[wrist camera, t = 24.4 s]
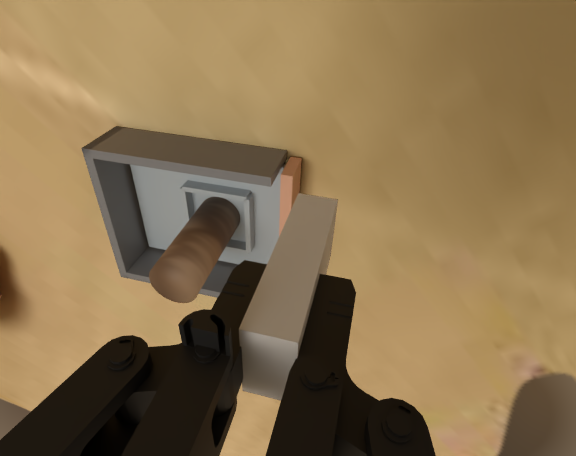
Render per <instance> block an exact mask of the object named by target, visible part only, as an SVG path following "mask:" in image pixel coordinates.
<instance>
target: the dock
mask: <svg viewBox="0 0 576 456" xmlns="http://www.w3.org/2000/svg"><path fill="white" fill-rule="evenodd" d="M82 151H83V155H84V158H85V161H86V164H87V168H88V171H89V174H90V177H91V181H92V184H93V187H94V191H95V194H96V197H97V200H98V204H99V207H100V210H101V213H102V217H103V220H104V223H105V226H106V230H107V233H108V236H109V239H110V243H111V246H112V249H113V252H114V256H115V259H116V262H117V265H118V269H119V272H120V275H121V277H124V278H129V279H134V280H138V281H143V282H148V283H150V280H149V272H150V270H151V269H152V268H153V266H154V265H155V264H156V262H157V261H158V260H159V258H160V257H161V256H162V255H163V253H164V252H165V251H166V250H164V249H159V248H154V247H149V244H148V240H147V236H146V231H145V227H144V223H143V218H142V214H141V210H140V206H139V201H138V197H137V193H136V188H135V184H134V180H133V175H132V171H131V167H130V165H136V166H143V167H149V168H155V169H162V170H168V171H174V172H180V173H187V174H193V175H199V176H206V177H212V178H218V179H224V180H231V181H237V182H243V183H249V184H256V185H262V186H268V187H271V186H272V184H273V182H274V181H275V179H276V177H277V175H278V173H279V172H280V170H281V168H282V166H283V164H284V163H285V161H286V159H287V150H281V149H274V148H266V147H259V146H252V145H245V144H238V143H231V142H224V141H217V140H210V139H203V138H196V137H189V136H181V135H174V134H167V133H160V132H153V131H146V130H139V129H132V128H125V127H118V126H116V127H114V128H113V129H111V130H109V131H108V132H106V133H105V134H103V135H102V136H100V137H98V138H97V139H95V140H94V141H92V142H91V143H89V144H87V145H86V146H84V147H83V148H82ZM238 265H239V264H234V263H229V262H224V261H219V260H218V261H217V263H216V264H215V266H214V268H213V269H212V271H211V273H210V275H209V276H208V278H207V280H206V281H205V283H204V285H203V286H202V288H201V290H200V291H199V294H203V295H208V296H212V297H217V298H218V296H219V295H220V293H221V292H222V289H223V287H224V285H225V283H227V280H228V278H229V276H230V274H231V272H232V270H233V269H234V268H235V267H236V266H238Z"/></svg>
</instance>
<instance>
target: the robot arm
mask: <svg viewBox="0 0 576 456" xmlns="http://www.w3.org/2000/svg"><path fill="white" fill-rule="evenodd" d="M337 203H338V199H332V198H326V197H319V196H313V195H307V194H301V193H298V195H297V197H296V200H295V202H294V204H293V207H292V209H291V211H290V213H289V216H288V218H287V220H286V222H285V225H284V227H283V229H282V232H281V234H280V236H279V238H278V241H277V243H276V245H275V248H274V250H273V252H272V254H271V257H270V259H269V261H268V264H263V263H258V262H253V261H248V260H244V261H243V262H241V263H240V264H239V265H238V266H236V267H235V268H234V269H233V270H232V272H231V274H230V276H229V278H228V280H227V283H225V285H224V287H223V289H222V292H221V293H220V295H219V296H218V298H217V300H216V302H215V304H214V306H213V308H212V309H211V310H205V309H204V310H200V311H195V312H193V313H191V314H189V315H187V316H186V317H184V319H183V320H182V321H181V322H180V323H179V324H178V325H179V330H180V334H181V339H182V343H181V344H177V345H171V346H157V347H148V345H147V343H146V342H145V341H144V340H143V339H142V338H140V337H136V336H133V335H131V336H121V337H118V338H116V339H113V340H111V341H110V342H108V343H107V344H105V345H104V346H102V347H101V348H100V349H99V350H98V351H97V352H96V353H95V354H94V355H93V356H92V357H90V358H89V359H88V360H87V361H86V362H85V363H84V364H83V365H82V366H81V367H80V368H78V369H77V370H76V371H75V372H74V373H73V374H72V375H71V376H70V377H69V378H67V379H66V380H65V381H64V382H63V383H62V384H61V385H60V386H59V387H58V388H57V389H55V390H54V391H53V392H52V393H51V394H50V395H49V396H48V397H47V398H46V399H45V400H43V401H42V402H41V403H40V404H39V405H38V406H37V407H36V408H35V409H34V410H33V411H31V412H30V413H29V414H28V415H27V416H26V417H25V418H24V419H23V420H22V421H21V422H19V423H18V424H17V425H16V426H15V427H14V428H13V429H12V430H11V431H10V432H9V433H8V434H6V435H5V436H4V437H3V438H2V439H1V440H0V456H219V455H220V452H221V450H222V447H223V444H224V441H225V439H226V436H227V433H228V430H229V428H230V425H231V422H232V419H233V417H234V414H235V411H236V406H237V394H238V391H239V389H240V386H241V383H242V387H243V391H246V392H250V393H254V394H258V395H262V396H265V397H269V398H273V399H277V400H281V403H280V407H279V410H278V414H277V417H276V421H275V425H274V428H273V432H272V435H271V439H270V442H269V446H268V449H267V453H266V456H436V455H435V452H434V448H433V445H432V441H431V437H430V434H429V430H428V427H427V425H426V422H425V420H424V418H423V416H422V415H421V414H420V413H419V412H418V411H417V410H416V408H415V407H414V406H412V405H410V404H408V403H407V402H405V401H403V400H399V399H394V398H389V399H383V400H380V401H379V400H377V399H375V398H374V397H372V396H370V395H369V394H367V393H365V392H364V391H362V390H361V389H360V388H358V387H357V386H356V385H355V384H354V382H353V381H352V380H351V378H350V376H349V375H348V372H347V369H346V355H347V349H348V342H349V335H350V329H351V322H352V316H353V309H354V302H355V296H356V292H355V289H354V286H353V284H352V281H351V280H350V279H345V278H339V277H334V276H329V275H326V272H327V268H328V264H329V260H330V256H331V249H332V241H333V233H334V226H335V218H336V210H337Z"/></svg>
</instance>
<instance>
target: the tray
mask: <svg viewBox="0 0 576 456" xmlns="http://www.w3.org/2000/svg"><path fill="white" fill-rule="evenodd" d="M301 161H302V158H297V157H290V158H289V160H288V162H287V164H286V165H285V164H283V166H282V168H281V170H280V172H279V173H278V175H277V177H276V179H275V181H274V182H273V184H272V186H271V187H268V186H262V185H256V184H249V183H243V182H237V181H231V180H224V179H218V178H212V177H206V176H199V175H193V174H187V173H180V172H174V171H168V170H162V169H155V168H149V167H143V166H136V165H130V167H131V171H132V175H133V180H134V184H135V188H136V193H137V197H138V201H139V206H140V210H141V214H142V218H143V223H144V227H145V231H146V236H147V240H148V244H149V247H154V248H159V249H164V250H166V249H167V248H168V247H169V246H170V244H171V243H172V242H173V240H174V239H175V238H176V236H177V235H178V234H179V233H180V231H181V230H182V229H183V227H184V226H185V225H186V223H187V222H188V221H189V220H190V218H191V217H192V216H193V214H194V213H195V212H196V211H197V209H198V208H199V207H200V205H201V204H202V203H203V202H204V200H206V199H207V198H210V197H221V198H224V199H226V200H228V201H230V202H231V203H232V204H233V205H234V206H235V207H236V208H237V210H238V212H239V214H240V223H239V225H238V227H237V229H236V230H235V232H234V234H233V235H232V237H231V239H230V241H229V242H228V244H227V246H226V247H225V249H224V251H223V252H222V254H221V256H220V258H219V259H218V260H219V261H224V262H229V263H234V264H240V263H241V262H243V261H244V260H248V261H253V262H258V263H263V264H268V261H269V259H270V257H271V254H272V252H273V250H274V248H275V245H276V243H277V241H278V238H279V236H280V234H281V232H282V229H283V227H284V225H285V222H286V220H287V218H288V216H289V213H290V211H291V209H292V207H293V204H294V202H295V200H296V197H297V195H298V193H300V178H301Z"/></svg>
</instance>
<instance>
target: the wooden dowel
mask: <svg viewBox="0 0 576 456" xmlns="http://www.w3.org/2000/svg"><path fill="white" fill-rule="evenodd" d="M239 223H240V214H239V212H238V210H237V208H236V207H235V206H234V205H233V204H232V203H231V202H230V201H228V200H226V199H224V198H221V197H210V198H207V199H206V200H204V202H203V203H202V204H201V205H200V207H199V208H198V209H197V211H196V212H195V213H194V214H193V216H192V217H191V218H190V220H189V221H188V222H187V223H186V225H185V226H184V227H183V229H182V230H181V231H180V233H179V234H178V235H177V236H176V238H175V239H174V240H173V242H172V243H171V244H170V246H169V247H168V248H167V249H166V251H165V252H164V253H163V255H162V256H161V257H160V258H159V260H158V261H157V262H156V264H155V265H154V266H153V268H152V269H151V270H150V272H149V280H150V283H151V284H152V286H153V288H154V289H155V290H156V291H157V292H158V293H159V294H161V295H162V296H163V297H165V298H167V299H169V300H171V301H174V302H178V303H188V302H191V301H193V300H194V299H195V298H196V297H197V295H198V293H199V291H200V290H201V288H202V286H203V285H204V283H205V281H206V280H207V278H208V276H209V275H210V273H211V271H212V269H213V268H214V266H215V264H216V263H217V261H218V259H219V258H220V256H221V254H222V252H223V251H224V249H225V247H226V246H227V244H228V242H229V241H230V239H231V237H232V235H233V234H234V232H235V230H236V229H237V227H238V225H239Z"/></svg>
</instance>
